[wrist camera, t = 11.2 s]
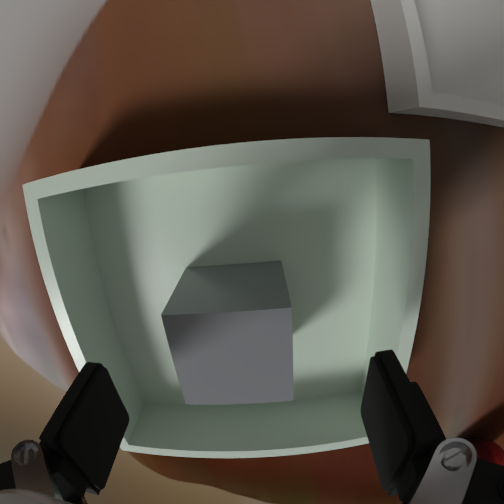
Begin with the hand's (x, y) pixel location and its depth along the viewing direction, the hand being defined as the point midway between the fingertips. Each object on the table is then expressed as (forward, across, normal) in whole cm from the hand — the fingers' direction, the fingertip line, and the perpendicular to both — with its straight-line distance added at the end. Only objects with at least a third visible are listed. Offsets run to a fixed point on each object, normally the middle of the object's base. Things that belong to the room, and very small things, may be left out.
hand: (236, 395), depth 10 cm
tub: (+9, -16, -17) cm, 26 cm away
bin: (+8, 0, +1) cm, 8 cm away
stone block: (+7, 0, +1) cm, 7 cm away
